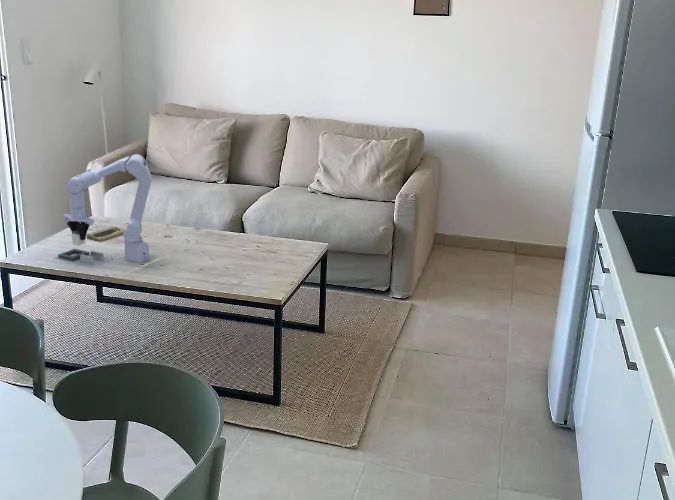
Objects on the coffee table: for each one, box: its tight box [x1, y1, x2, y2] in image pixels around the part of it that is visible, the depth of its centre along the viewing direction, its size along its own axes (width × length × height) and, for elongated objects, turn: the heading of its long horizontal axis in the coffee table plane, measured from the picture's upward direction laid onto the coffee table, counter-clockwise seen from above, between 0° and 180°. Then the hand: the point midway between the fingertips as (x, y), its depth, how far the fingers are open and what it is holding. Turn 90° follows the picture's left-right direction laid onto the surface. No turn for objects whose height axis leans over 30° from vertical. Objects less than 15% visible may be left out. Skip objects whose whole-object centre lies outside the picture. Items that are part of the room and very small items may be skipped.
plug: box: [71, 230, 86, 246], centre depth 294 cm, size 3×4×6 cm
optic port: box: [57, 248, 90, 261], centre depth 299 cm, size 8×9×2 cm
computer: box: [86, 225, 126, 243], centre depth 329 cm, size 16×8×3 cm, turn 149°
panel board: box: [53, 253, 113, 269], centre depth 297 cm, size 21×12×1 cm, turn 64°
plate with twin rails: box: [80, 250, 105, 265], centre depth 295 cm, size 6×7×3 cm
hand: (79, 238), depth 295 cm, fingers closed on plug, 3 cm apart
